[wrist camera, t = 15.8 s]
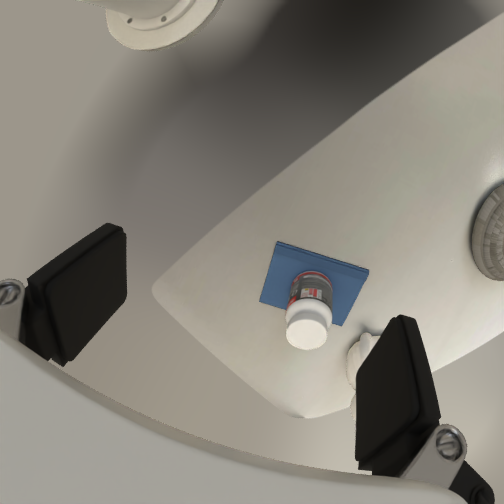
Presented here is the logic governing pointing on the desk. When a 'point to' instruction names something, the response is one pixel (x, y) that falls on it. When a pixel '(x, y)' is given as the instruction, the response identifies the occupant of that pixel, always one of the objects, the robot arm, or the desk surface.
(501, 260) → the flying saucer
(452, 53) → the desk surface
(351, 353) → the cat figurine
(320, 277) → the pill bottle
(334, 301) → the cloth
